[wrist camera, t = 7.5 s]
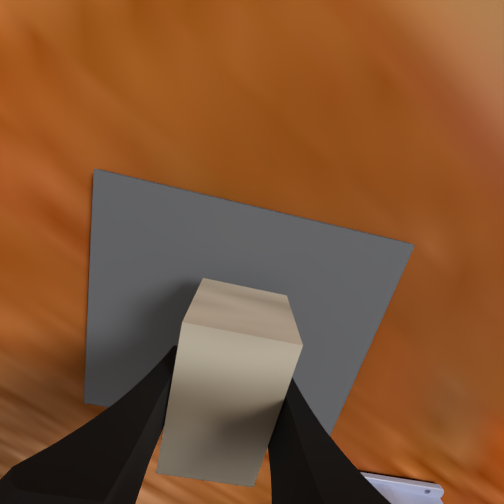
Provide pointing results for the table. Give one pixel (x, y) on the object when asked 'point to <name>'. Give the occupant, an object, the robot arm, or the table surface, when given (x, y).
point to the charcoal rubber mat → (229, 271)
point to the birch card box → (228, 383)
